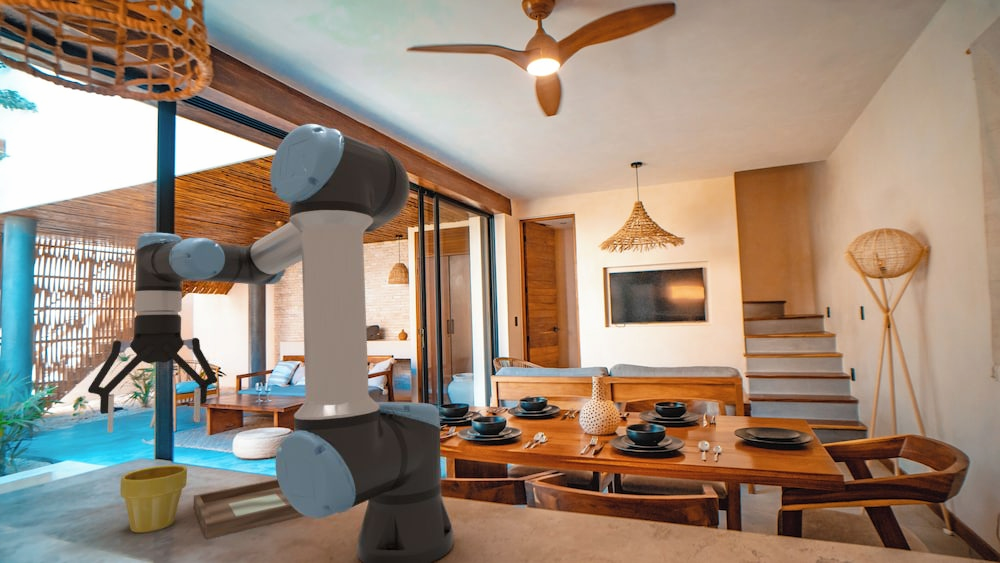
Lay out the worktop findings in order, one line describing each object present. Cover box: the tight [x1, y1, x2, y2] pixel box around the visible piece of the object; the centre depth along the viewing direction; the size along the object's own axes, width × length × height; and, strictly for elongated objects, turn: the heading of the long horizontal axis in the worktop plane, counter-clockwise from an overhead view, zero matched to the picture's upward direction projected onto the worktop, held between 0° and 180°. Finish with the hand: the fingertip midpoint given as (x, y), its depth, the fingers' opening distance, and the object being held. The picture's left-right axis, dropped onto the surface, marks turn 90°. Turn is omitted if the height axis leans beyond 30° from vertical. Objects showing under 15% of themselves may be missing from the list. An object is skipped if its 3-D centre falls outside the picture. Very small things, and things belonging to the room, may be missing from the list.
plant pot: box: [120, 464, 188, 533], centre depth 95 cm, size 10×10×10 cm
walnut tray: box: [193, 479, 305, 540], centre depth 102 cm, size 20×20×2 cm
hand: (155, 426), depth 97 cm, fingers open, 13 cm apart
